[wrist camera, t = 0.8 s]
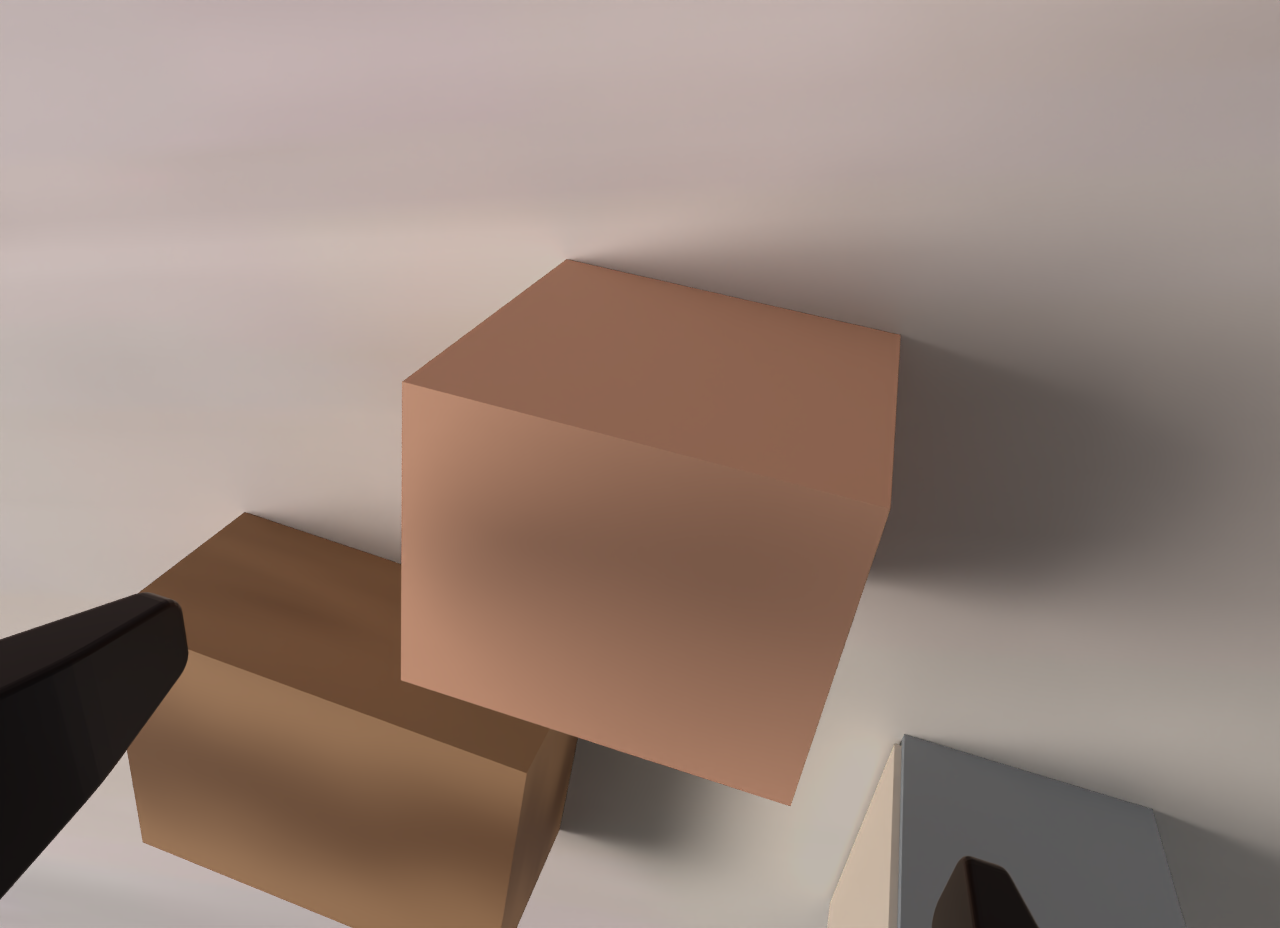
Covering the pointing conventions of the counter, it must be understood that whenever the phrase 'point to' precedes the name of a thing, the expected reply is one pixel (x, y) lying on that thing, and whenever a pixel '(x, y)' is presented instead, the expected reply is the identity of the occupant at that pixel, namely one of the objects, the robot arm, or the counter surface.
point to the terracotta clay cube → (646, 517)
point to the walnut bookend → (336, 747)
